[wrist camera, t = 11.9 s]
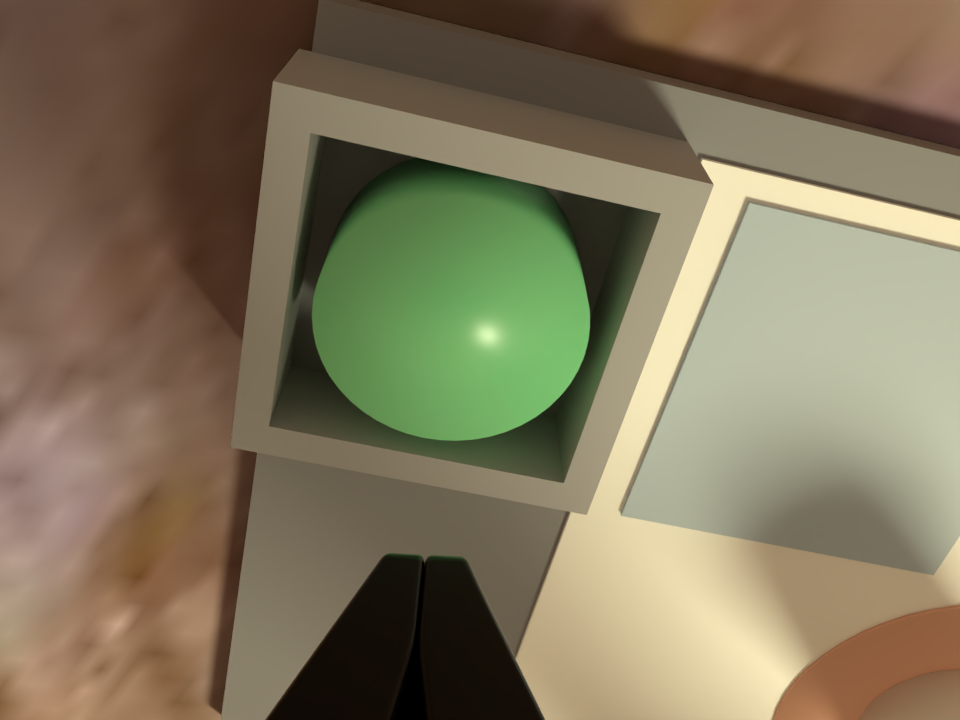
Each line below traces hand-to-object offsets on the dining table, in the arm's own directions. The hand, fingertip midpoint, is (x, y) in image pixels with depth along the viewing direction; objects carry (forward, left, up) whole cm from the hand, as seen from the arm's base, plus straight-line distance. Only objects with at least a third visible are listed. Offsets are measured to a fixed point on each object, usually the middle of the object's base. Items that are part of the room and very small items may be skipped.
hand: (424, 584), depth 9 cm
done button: (0, 0, -9) cm, 9 cm away
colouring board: (-8, +5, -8) cm, 13 cm away
